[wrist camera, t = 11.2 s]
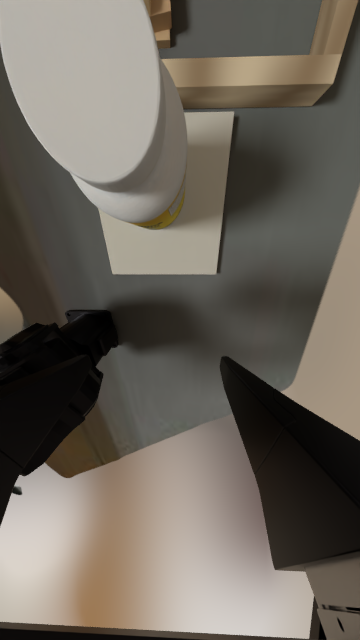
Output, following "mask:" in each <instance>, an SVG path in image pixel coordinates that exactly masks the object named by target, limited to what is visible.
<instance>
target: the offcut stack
mask: <svg viewBox="0 0 360 640" xmlns="http://www.w3.org/2000/svg"><path fill="white" fill-rule="evenodd" d="M144 3H145V5H146V8H147V11H148V14H149V17H150V20H151V23H152V27H153V30H154V34H155V37H156V41H157V46H158V49H161V48H170V29H171V28H172V21H171V5H170V0H144Z"/></svg>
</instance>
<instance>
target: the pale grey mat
mask: <svg viewBox="0 0 360 640" xmlns="http://www.w3.org/2000/svg"><path fill="white" fill-rule="evenodd" d="M184 115H185V121H186V128H187V141H188V152H187V171H186V185H185V198H184V203H183V206H182V209H181V211H180V213H179V215H178V217H177V218H176V219H175V220H174V221H173V222H172V223H171V224H170V225H169V226H167V227H165V228H163V229H159V230H149V229H145V228H142V227H139V226H136V225H134V224H130V223H127V222H124V221H121V220H118V219H116V218H114V217H112V216H110V215H108V214H106V213H105V212H103V211H102V210H100V209H99V208H98V209H99V213H100V218H101V222H102V227H103V232H104V236H105V241H106V246H107V250H108V255H109V260H110V264H111V269H112V273H113V274H216V271H217V262H218V253H219V244H220V235H221V226H222V217H223V208H224V199H225V190H226V181H227V172H228V163H229V154H230V145H231V136H232V127H233V118H234V112H191V113H184Z"/></svg>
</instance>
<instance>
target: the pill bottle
mask: <svg viewBox="0 0 360 640" xmlns="http://www.w3.org/2000/svg"><path fill="white" fill-rule="evenodd" d="M0 45H1V50H2V56H3V61H4V65H5V68H6V72H7V75H8V78H9V81H10V84H11V87H12V90H13V93H14V95H15V98H16V100H17V103H18V105H19V107H20V109H21V111H22V113H23V115H24V117H25V119H26V121H27V123H28V125H29V126H30V128H31V129H32V131H33V133H34V134H35V136H36V137H37V139H38V140H39V141H40V143H41V144H42V145H43V147H44V148H45V149H46V150H47V151H48V153H49V154H50V155H51V156H52V157H53V158H54V159H55V160H56V161H57V162H58V163H59V164H60V165H61V166H63V167H64V168H65V169H66V170H68V171H69V172H70V173H71V175H72V177H73V178H74V180H75V182H76V183H77V185H78V186H79V188H80V189H81V190H82V192H83V193H84V194H85V195H86V196H87V198H88V199H89V200H90V201H91V202H92V203H93V204H94V205H96V206H97V207H98V208H99V209H100V210H102V211H103V212H105V213H106V214H108V215H110V216H112V217H114V218H116V219H118V220H121V221H124V222H127V223H130V224H134V225H136V226H139V227H142V228H145V229H149V230H159V229H163V228H165V227H167V226H169V225H170V224H171V223H172V222H173V221H174V220H175V219H176V218H177V217H178V215H179V213H180V211H181V209H182V206H183V203H184V198H185V185H186V171H187V152H188V141H187V128H186V121H185V115H184V111H183V106H182V103H181V100H180V97H179V94H178V91H177V88H176V86H175V84H174V81H173V79H172V77H171V75H170V73H169V71H168V69H167V68H166V66H165V64H164V63H163V61H162V60H161V59H160V57H159V51H158V46H157V41H156V37H155V34H154V30H153V27H152V23H151V20H150V17H149V14H148V11H147V8H146V5H145V3H144V0H0Z"/></svg>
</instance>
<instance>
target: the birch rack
mask: <svg viewBox="0 0 360 640" xmlns="http://www.w3.org/2000/svg"><path fill="white" fill-rule="evenodd" d="M357 2H358V0H322V4H321V8H320V12H319V16H318V20H317V25H316V29H315V33H314V37H313V41H312V46H311V50H310V54H309V55H294V56H258V57H222V58H186V59H161V60H162V61H163V63H164V64H165V66H166V68H167V69H168V71H169V73H170V75H171V77H172V79H173V81H174V84H175V86H176V88H177V91H178V94H179V97H180V100H181V103H182V106H183V109H206V108H254V107H301V106H312V105H313V104H314V103H315V102H316V101H317V100H318V99H319V98H320V97H321V96H322V95H323V94H324V93H325V92H326V91H327V89H328V88H329V87H330V86H331V85H332V84H333V82H334V79H335V76H336V72H337V69H338V66H339V62H340V59H341V56H342V52H343V49H344V46H345V42H346V39H347V36H348V32H349V29H350V26H351V22H352V19H353V16H354V12H355V9H356V6H357Z"/></svg>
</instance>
